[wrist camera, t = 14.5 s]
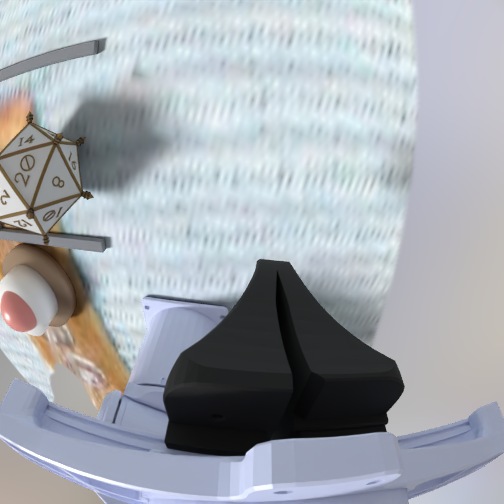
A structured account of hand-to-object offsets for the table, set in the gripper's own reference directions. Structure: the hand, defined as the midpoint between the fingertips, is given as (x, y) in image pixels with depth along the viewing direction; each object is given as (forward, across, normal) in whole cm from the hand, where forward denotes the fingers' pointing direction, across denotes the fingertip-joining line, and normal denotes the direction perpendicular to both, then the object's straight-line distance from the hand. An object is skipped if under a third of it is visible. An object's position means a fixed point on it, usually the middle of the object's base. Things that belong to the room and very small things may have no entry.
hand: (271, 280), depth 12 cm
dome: (+8, +23, +11) cm, 27 cm away
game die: (+10, +16, -2) cm, 19 cm away
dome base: (+9, +23, +11) cm, 27 cm away
